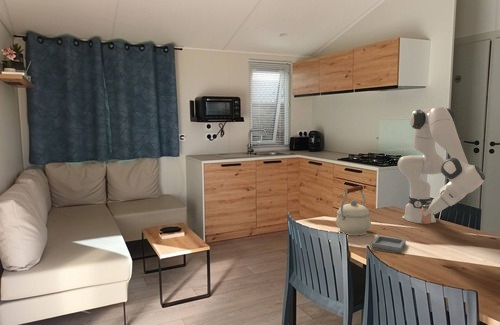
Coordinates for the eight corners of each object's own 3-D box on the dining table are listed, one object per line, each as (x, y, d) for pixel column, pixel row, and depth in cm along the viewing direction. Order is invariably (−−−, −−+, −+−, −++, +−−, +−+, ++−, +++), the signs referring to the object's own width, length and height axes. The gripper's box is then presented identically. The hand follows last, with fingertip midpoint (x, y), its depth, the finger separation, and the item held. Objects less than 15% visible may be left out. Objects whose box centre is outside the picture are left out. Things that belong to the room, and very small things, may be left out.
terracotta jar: (421, 220, 178) (422, 204, 177) (431, 222, 176) (431, 205, 175) (420, 223, 175) (421, 206, 173) (430, 224, 172) (430, 207, 171)
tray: (377, 239, 193) (378, 235, 192) (405, 244, 186) (405, 239, 185) (371, 248, 181) (371, 242, 181) (400, 253, 175) (400, 247, 174)
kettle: (356, 240, 192) (357, 192, 189) (327, 232, 206) (327, 187, 203) (381, 230, 208) (383, 185, 205) (353, 223, 222) (354, 181, 219)
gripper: (446, 185, 178) (422, 203, 185) (442, 193, 161) (416, 213, 167) (456, 195, 176) (432, 213, 183) (453, 205, 159) (427, 224, 166)
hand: (424, 213), depth 175 cm, fingers closed on terracotta jar, 4 cm apart
